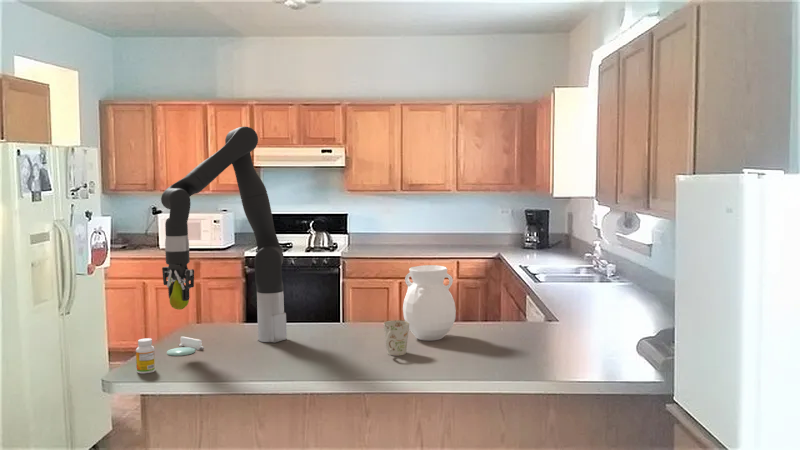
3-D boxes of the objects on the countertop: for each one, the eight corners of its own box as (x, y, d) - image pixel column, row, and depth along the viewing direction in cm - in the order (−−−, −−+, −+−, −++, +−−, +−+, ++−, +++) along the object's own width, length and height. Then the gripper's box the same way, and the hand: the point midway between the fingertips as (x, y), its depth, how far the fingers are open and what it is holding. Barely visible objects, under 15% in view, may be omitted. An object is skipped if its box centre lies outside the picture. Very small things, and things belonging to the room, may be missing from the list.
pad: (200, 351, 251) (200, 349, 251) (178, 357, 244) (178, 355, 244) (183, 347, 256) (183, 346, 256) (161, 353, 249) (161, 351, 249)
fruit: (193, 309, 249) (191, 272, 248) (176, 311, 245) (174, 275, 244) (182, 306, 254) (181, 271, 253) (166, 309, 249) (164, 273, 248)
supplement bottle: (139, 369, 230) (138, 337, 229) (157, 368, 231) (156, 337, 230) (134, 374, 225) (133, 342, 224) (153, 373, 225) (151, 341, 225)
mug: (412, 351, 248) (412, 321, 247) (400, 360, 236) (400, 329, 235) (389, 349, 251) (388, 319, 250) (375, 358, 239) (375, 327, 238)
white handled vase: (395, 341, 262) (394, 270, 260) (414, 330, 279) (413, 263, 277) (446, 345, 255) (445, 272, 253) (462, 334, 272) (462, 265, 270)
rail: (203, 348, 255) (203, 339, 255) (197, 349, 253) (197, 341, 253) (184, 344, 261) (184, 336, 261) (179, 345, 259) (178, 337, 259)
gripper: (200, 249, 246) (202, 300, 248) (173, 246, 255) (174, 295, 256) (181, 251, 240) (183, 303, 242) (154, 249, 249) (156, 299, 250)
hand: (179, 299), depth 249 cm, fingers closed on fruit, 6 cm apart
